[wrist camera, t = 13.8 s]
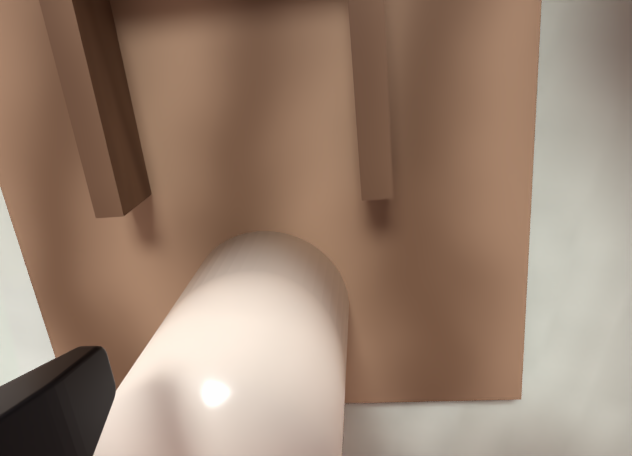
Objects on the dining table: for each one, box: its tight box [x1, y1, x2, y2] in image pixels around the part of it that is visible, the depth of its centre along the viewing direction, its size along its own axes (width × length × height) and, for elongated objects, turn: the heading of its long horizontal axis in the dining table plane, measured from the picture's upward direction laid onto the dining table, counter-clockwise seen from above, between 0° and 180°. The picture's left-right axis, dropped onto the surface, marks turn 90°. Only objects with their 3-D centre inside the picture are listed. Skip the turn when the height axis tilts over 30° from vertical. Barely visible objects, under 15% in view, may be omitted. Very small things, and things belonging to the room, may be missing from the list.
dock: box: [0, 0, 541, 403], centre depth 19 cm, size 20×20×4 cm
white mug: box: [93, 231, 349, 456], centre depth 18 cm, size 10×6×9 cm, turn 6°
